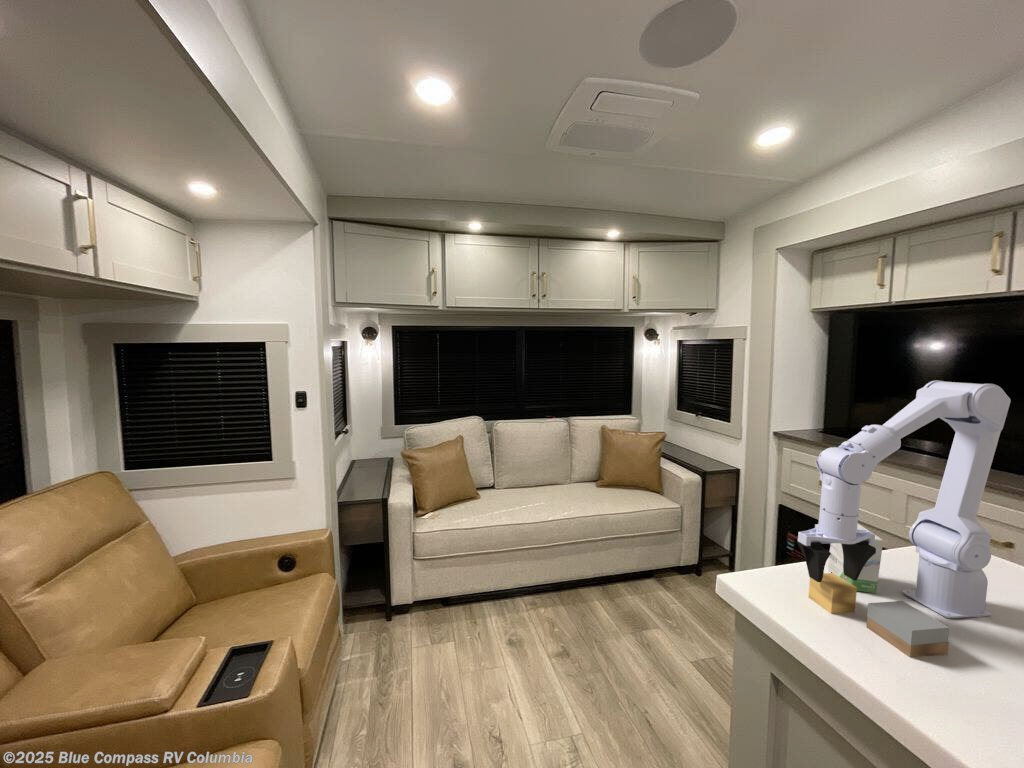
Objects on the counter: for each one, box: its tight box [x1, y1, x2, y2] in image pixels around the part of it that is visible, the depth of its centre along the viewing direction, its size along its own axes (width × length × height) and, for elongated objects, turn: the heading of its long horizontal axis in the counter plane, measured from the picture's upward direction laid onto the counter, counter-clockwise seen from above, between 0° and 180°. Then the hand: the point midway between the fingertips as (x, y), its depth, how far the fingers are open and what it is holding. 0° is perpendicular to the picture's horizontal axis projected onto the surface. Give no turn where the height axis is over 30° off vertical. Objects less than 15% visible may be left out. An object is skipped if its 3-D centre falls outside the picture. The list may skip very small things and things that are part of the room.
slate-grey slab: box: [866, 600, 950, 645], centre depth 67 cm, size 7×7×2 cm
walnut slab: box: [866, 617, 949, 658], centre depth 68 cm, size 7×7×2 cm
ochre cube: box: [808, 572, 858, 615], centre depth 77 cm, size 5×5×5 cm
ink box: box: [827, 523, 884, 594], centre depth 85 cm, size 9×5×12 cm, turn 168°
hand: (832, 578), depth 77 cm, fingers open, 7 cm apart
